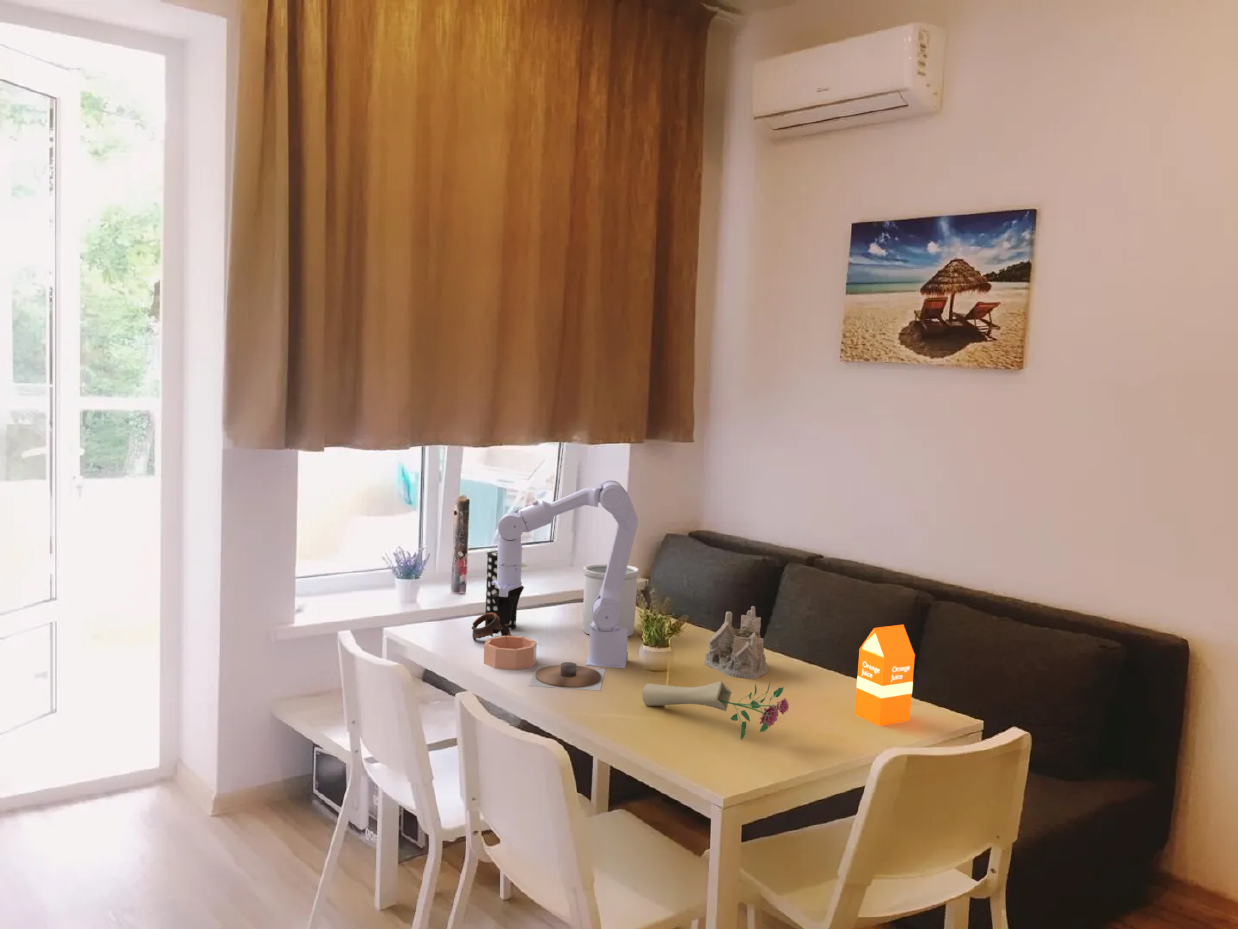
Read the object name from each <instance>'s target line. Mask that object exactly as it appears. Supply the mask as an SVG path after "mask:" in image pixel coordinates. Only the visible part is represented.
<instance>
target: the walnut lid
mask: <svg viewBox="0 0 1238 929" xmlns="http://www.w3.org/2000/svg"><path fill="white" fill-rule="evenodd" d="M591 668H592V667H589V666H583V665H577V663H575V662H571V661H565V662H561V663H560V664H556V665H551V666H548V667H544V668H541V669H539V670H538V671H537V672H536V674H535V677H536V679H537V680H538V681H540V682H542V683H544V684H547V685H551V686H556V687H567V688H575V687H586V686H590V685H594V684H596V683H598V682H599V681H600V680H601V674H600V673H599V672H598V671H596V670H594V669H591Z"/></svg>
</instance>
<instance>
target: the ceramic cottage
mask: <svg viewBox="0 0 1238 929" xmlns="http://www.w3.org/2000/svg"><path fill="white" fill-rule="evenodd" d="M761 622H762V617H759V616H756V606H754V605H752V606H751V607H750V610H749V609H748V610H747V612H746V615H745V614H741V616H740V628H734V627H733V625H732V623H733V613H732V612H731V611H726V612H725V617H724V623H722V625H721V627H720V628H718V630H717V631H716V632H715V633H714V634H712V636H710V637H709V641H708V642H709V650H708V652H706V654H705V657H704V665H706V666H708V667H710V668H711V669H714V670H716V671H718V672H720V673H722V674H724V675H726V676H729V677H733V678H741V679H742V678H745V679H748V680H749V679H753V680H755V679H759V678H761V677H762V676H764V675H765V674H767V673H768V671H769V665H768V663H767V661H766V660H767V658H766V656H765V652H764V651H765V649H764V647H765V646H764V642H765V641H764V638H763V637H762V638H761V625H762V623H761Z"/></svg>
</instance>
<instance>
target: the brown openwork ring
mask: <svg viewBox="0 0 1238 929" xmlns="http://www.w3.org/2000/svg"><path fill="white" fill-rule="evenodd" d="M485 620H486V623H487V624H488V625H487V626H485V625H484V626H482V627H479V628H478V626H479V625H480V624H482V623H483V622H485ZM471 629H472V635H471V636H472V639H473V641H476V639H482V638H485V637H489V636H490V637H491V638H494V634H495V635H497V634H499V633H500V634H501V635H500V636H512V633H511V630H509V627H508V625H507V624H500V620H499V616H498V615H497V614H496V613H487V614H485V613H484V614H482V615H480V616H479V617H478V618H477V619H475V620H474V621H473V623H472V626H471Z"/></svg>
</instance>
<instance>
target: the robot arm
mask: <svg viewBox="0 0 1238 929" xmlns="http://www.w3.org/2000/svg"><path fill="white" fill-rule="evenodd" d="M599 503H600V505H601V506H602V508H603V509H604V510H606V511H607V512H608V513H609V514H611V515H612V516H613V518H614V519H615V521H616V523H617V526H616V529H615V533H614V536H613V541H612V544H611V549H610V554H609V558H608V560H607V564H608V565H607V569H606V573H605V577H604V581H603V585H602V587H601V589H600V593H599V596H598V597H597V599H596V600H595V601H594V602H593V605H592V612H593V619H594V621H593V622H592V623H591V624H590V635H589V646H588V655H587V659H586V662H585V667H602V668H603V667H604V668H617V669H620V668H621V669H626V667H627V666H626V665H627V660H628V659H629V651H628V640H629V638H628V637H629V636H628V629H625V628H620V624H619V620H620V614H619V609H618V608H619V603H620V595H621V589H622V585H623V581H624V577H625V573H626V569H627V565H628V564H629V560H630V557H631V553H632V548H633V546H634V545H633V544H634V541H635V537H636V533H637V529H638V525H639V518H638V516H637V512H636V510H635V508H634V505H633V502H632V499H631V497H630V496H629V494H628V491H626V489H625V488H624V487H623V486H622V485H621V483H619V481H616V480H612V479H610V480H606V481H604V482H602V484H601V483H599V482H598V483H596V484H592V485H589V486H587V487H585V488H584V487H583V488H582V489H579V490H578V491H575V492H573V493H571V494H568V495H566V496H564V497H561V498H560V499H556V500H555V501H553V502H547V501H544V500H541V501H538V500H537V499H535V500H533V501H532V504H531V505H529V506H526V507H524V508H523V507H522V508H521V509H518V508H516V509H514V510H513V513H512V512H508V513H505V514H503V516H502V517H500V519H499V522H498V525H497V530H498V533H499V536H498V545H497V551H498V561H497V580H494V581H492V585H496V586H497V587H498V589H499V594H495V593H494V594H493V599H494V601H495V603H496V606H497V609H498V615H499V620H500V624H509V623H510V620H511V616H515V614H516V610H517V609H518V606H519V605H518V604H519V601H520V597H521V595H522V592H523V590H524V589H525V586H523V585H522V557H523V556H522V555H523V554H522V553H523V545H522V534H523V533H529V532H532V531H535V530H537V529H540V528H542V527H545V526H547V525H550V524H552V523H553V521H554V519H555V517H556V516H559V515H562V514H563V513H566V512H570V511H572V510H575V509H578V508H581V507H583V506H590V507H595V508H599ZM516 615H517V614H516Z"/></svg>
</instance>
